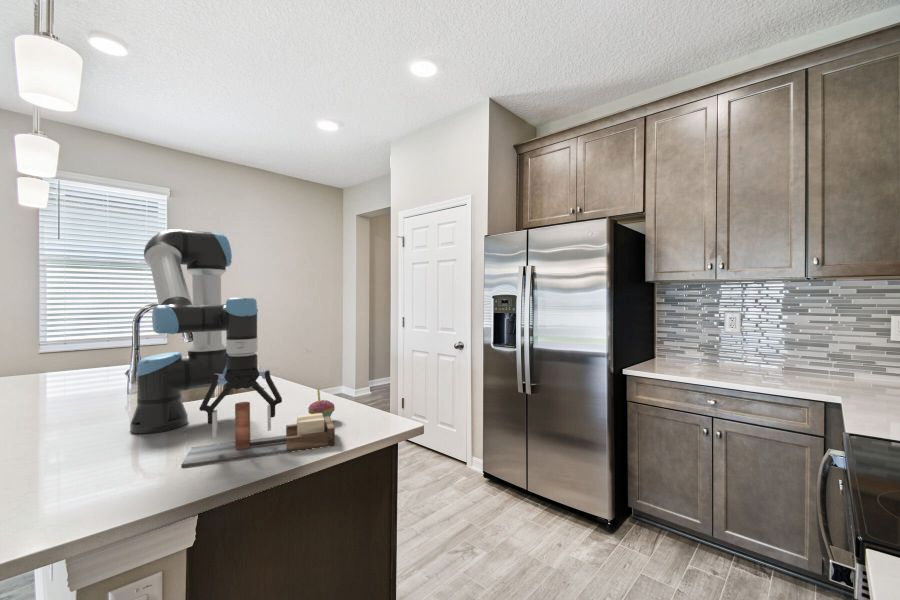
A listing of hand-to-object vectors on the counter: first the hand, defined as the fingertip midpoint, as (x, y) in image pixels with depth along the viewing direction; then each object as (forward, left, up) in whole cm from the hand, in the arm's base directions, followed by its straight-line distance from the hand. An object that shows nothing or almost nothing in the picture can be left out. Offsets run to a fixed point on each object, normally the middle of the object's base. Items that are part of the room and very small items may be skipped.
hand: (242, 432), depth 109 cm
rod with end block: (0, +10, -4) cm, 10 cm away
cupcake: (-18, +22, -5) cm, 29 cm away
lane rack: (0, +5, -5) cm, 7 cm away
